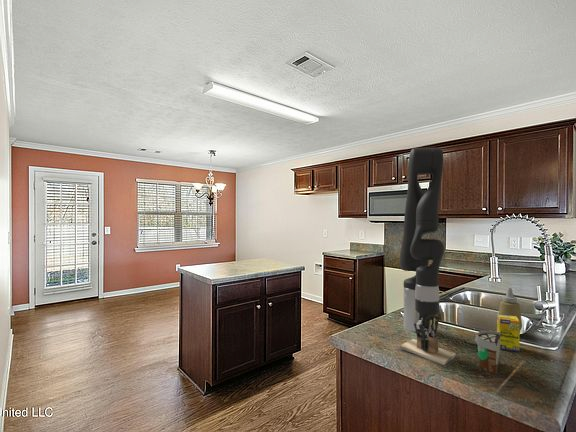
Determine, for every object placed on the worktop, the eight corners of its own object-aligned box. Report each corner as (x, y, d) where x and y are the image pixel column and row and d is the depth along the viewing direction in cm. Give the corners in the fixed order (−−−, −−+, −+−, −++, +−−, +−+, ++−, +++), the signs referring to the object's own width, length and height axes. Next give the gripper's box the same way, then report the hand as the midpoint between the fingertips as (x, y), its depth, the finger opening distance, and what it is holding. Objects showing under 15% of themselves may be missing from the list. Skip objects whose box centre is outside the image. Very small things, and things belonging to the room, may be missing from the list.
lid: (412, 341, 115) (413, 328, 115) (456, 356, 104) (456, 341, 104) (400, 348, 109) (400, 334, 109) (444, 365, 98) (444, 349, 98)
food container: (478, 357, 104) (478, 327, 104) (500, 362, 101) (500, 331, 100) (471, 371, 95) (471, 338, 95) (495, 378, 91) (495, 344, 91)
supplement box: (499, 349, 110) (499, 318, 110) (496, 343, 116) (496, 313, 116) (520, 352, 108) (520, 321, 108) (516, 346, 113) (516, 316, 113)
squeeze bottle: (495, 333, 126) (495, 288, 125) (500, 327, 131) (500, 284, 131) (520, 338, 120) (520, 291, 120) (523, 332, 126) (524, 287, 126)
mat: (411, 342, 117) (411, 341, 117) (460, 358, 104) (460, 356, 104) (395, 350, 110) (395, 349, 110) (446, 369, 97) (446, 367, 97)
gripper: (425, 292, 114) (426, 339, 114) (406, 299, 105) (406, 350, 105) (447, 296, 108) (447, 346, 108) (428, 304, 99) (428, 358, 99)
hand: (427, 348), depth 107 cm, fingers closed on lid, 3 cm apart
